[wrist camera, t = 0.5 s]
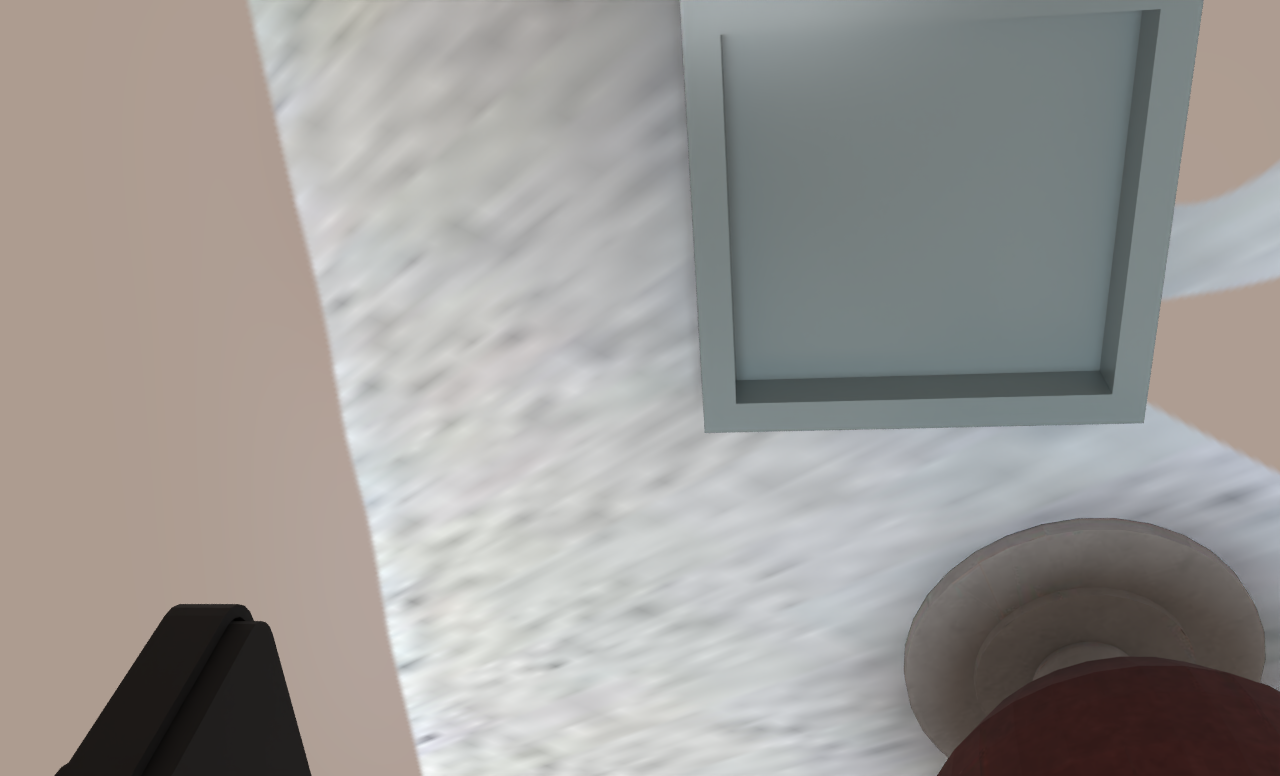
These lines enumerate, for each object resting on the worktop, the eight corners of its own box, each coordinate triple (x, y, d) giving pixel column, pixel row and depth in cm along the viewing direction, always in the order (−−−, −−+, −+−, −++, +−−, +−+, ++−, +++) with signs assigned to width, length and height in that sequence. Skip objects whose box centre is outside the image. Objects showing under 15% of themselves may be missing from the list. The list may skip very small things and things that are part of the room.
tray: (684, -21, 33) (679, -3, 31) (1177, -52, 32) (1208, -36, 30) (707, 393, 39) (704, 432, 37) (1121, 382, 38) (1143, 423, 36)
